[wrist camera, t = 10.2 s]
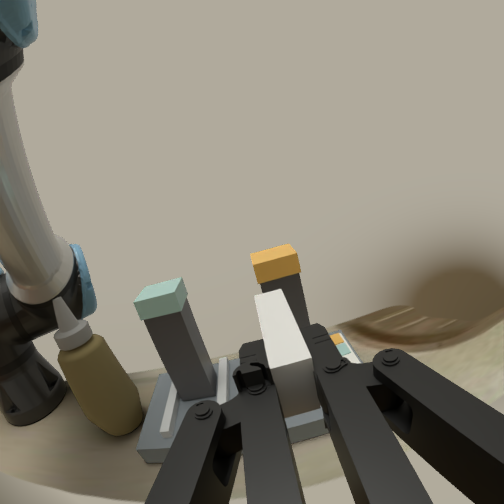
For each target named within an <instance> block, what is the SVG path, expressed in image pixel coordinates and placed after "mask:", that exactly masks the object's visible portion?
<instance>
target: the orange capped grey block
mask: <svg viewBox="0 0 504 504" xmlns="http://www.w3.org/2000/svg"><path fill="white" fill-rule="evenodd" d="M250 255H251V259H252V263H253V267H254V271H255V275H256V278H257V282H258V284H260V285H261V289H262V292H263V293H267V292H270V291H274V290H278V289H282V292H283V294H284V296H285V298H286V301H287V303H288V305H289V307H290V310H291V312H292V314H293V316H294V318H295V321H296V323H297V325H298V327H299V328H302V327H306V326H309V325H310V322H309V317H308V312H307V307H306V303H305V298H304V293H303V289H302V284H301V279H300V275H299V272H301V269H300V264H299V260H298V255H297V253H296V251H295V250H294V249H293V248H292V247H291V246H290V244H285V245H281V246H278V247H274V248H270V249H267V250H263V251H259V252H256V253H252V254H250Z"/></svg>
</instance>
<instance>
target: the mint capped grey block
mask: <svg viewBox="0 0 504 504" xmlns="http://www.w3.org/2000/svg"><path fill="white" fill-rule="evenodd" d="M187 294H188V293H187V291H186V288H185V285H184V282H183V279H182V277H181V278H176V279H173V280H169V281H165V282H162V283H158V284H154V285H150V286H147V287H145V288H144V289H143V291H142V292H141V293H140V294H139V296H138V297H137V298H136V300H135V301H134V305H135V307H136V310H137V312H138V315H139V317H140V319H141V320H144V322H145V325H146V327H147V329H148V332H149V334H150V336H151V338H152V340H153V343H154V345H155V347H156V349H157V351H158V354H159V356H160V358H161V360H162V362H163V364H164V366H165V368H166V370H167V372H168V374H169V376H170V378H171V380H172V382H173V384H174V386H175V388H176V390H177V392H178V394H179V396H180V397H181V399H182V401H185V400H191V399H197V398H203V397H208V396H214V395H215V393H216V376H217V374H216V372H215V370H214V367H213V365H212V362H211V360H210V357H209V355H208V352H207V350H206V348H205V345H204V342H203V340H202V337H201V335H200V332H199V329H198V327H197V325H196V322H195V319H194V317H193V314H192V311H191V308H190V305H189V303H188V300H187Z"/></svg>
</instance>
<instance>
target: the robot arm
mask: <svg viewBox="0 0 504 504" xmlns="http://www.w3.org/2000/svg"><path fill="white" fill-rule="evenodd" d="M37 36H38V21H37V13H36V0H0V262H1V264H2V265H3V266H4V268H5V269H6V273H5V274H4V271H3V270H2V269H1V268H0V410H1V412H2V414H3V415H4V417H5V418H6V419H7V421H8V422H9V423H11V424H13V425H19V426H20V425H27V424H30V423H33V422H35V421H37V420H39V419H41V418H43V417H44V416H46V415H47V414H49V413H50V412H51V411H52V410H53V409H54V408H55V407H56V406H57V405H58V404H59V403H60V401H61V400H62V398H63V397H64V395H65V392H66V383H65V382H64V380H63V379H62V377H61V375H60V374H59V372H58V371H57V370H56V369H55V368H54V367H53V366H52V365H51V364H50V363H49V362H47V360H46V359H45V358H43V356H42V355H41V354H40V353H39V352H38V351H37V349H36V348H35V346H34V344H33V342H32V340H34V339H36V338H38V337H40V336H43V335H45V334H48V333H50V332H52V331H55V330H57V329H59V327H58V323H57V319H56V315H55V310H54V306H53V300H54V299H55V298H58V297H62V299H63V300H64V302H65V303H66V305H67V306H68V308H69V309H70V311H71V312H72V313H73V315H74V316H75V318H76V319H77V320H83V318H85V317H87V316H89V315H91V314H93V313H94V312H95V310H96V308H97V301H96V296H95V293H94V289H93V286H92V283H91V279H90V274H89V271H88V268H87V265H86V261H85V258H84V255H83V252H82V250H81V247H80V246H79V245H77V244H74V245H72V244H70V245H68V243H67V241H65V240H64V239H63V238H62V237H60V236H58V235H55V234H54V233H53V231H52V229H51V226H50V224H49V221H48V219H47V216H46V214H45V211H44V208H43V206H42V203H41V200H40V197H39V194H38V191H37V189H36V186H35V183H34V180H33V176H32V173H31V170H30V167H29V163H28V160H27V157H26V153H25V149H24V146H23V142H22V138H21V134H20V130H19V126H18V121H17V116H16V111H15V106H14V101H13V95H12V89H11V85H12V82H13V81H14V79H15V78H16V76H17V75H18V72H19V71H20V70H21V68H22V67H23V65H24V59H23V58H24V57H23V48H25V47H28V46H29V45H30V44H31V43H33V42H34V41H35V40H36V39H37ZM254 297H255V302H256V307H257V312H258V316H259V321H260V326H261V330H262V335H263V339H261V340H257V341H253V342H249V343H245V344H243V345H242V347H241V348H240V350H239V358H240V366H238V367H237V368H236V369H235V370H234V371H233V375H232V377H233V379H234V382H235V384H236V387H237V390H238V392H239V393H238V394H237V396H235V397H234V398H233V399H231V400H229V401H227V402H225V403H223V404H221V405H219V403H217V402H215V401H212V400H204V401H200V402H198V403H195V404H194V405H192V406H191V407H190V408H189V409H188V411H187V412H186V414H185V417H184V419H183V421H182V423H181V425H180V427H179V430H178V432H177V434H176V436H175V438H174V441H173V443H172V445H171V447H170V449H169V452H168V454H167V456H166V458H165V460H164V462H163V465H162V467H161V469H160V471H159V473H158V476H157V478H156V480H155V482H154V484H153V486H152V489H151V491H150V493H149V495H148V497H147V499H146V502H145V504H229V501H230V497H231V493H232V489H233V485H234V481H235V477H236V473H237V469H238V465H239V461H240V457H241V450H243V459H244V471H245V483H246V495H247V504H306V503H305V499H304V495H303V490H302V486H301V482H300V478H299V474H298V470H297V466H296V462H295V458H294V453H293V449H292V445H291V441H290V437H289V433H288V429H287V425H286V422H285V418H288V417H291V416H295V415H299V414H303V413H306V412H310V411H313V410H316V409H320V408H321V407H322V411H323V417H324V424H325V429H326V428H328V431H329V433H330V436H331V439H332V441H333V444H334V447H335V450H336V452H337V455H338V458H339V460H340V463H341V466H342V468H343V471H344V474H345V477H346V479H347V482H348V484H349V487H350V490H351V493H352V495H353V498H354V501H355V504H433V502H432V501H431V499H430V497H429V495H428V493H427V492H426V490H425V488H424V486H423V485H422V483H421V481H420V479H419V477H418V475H417V474H416V472H415V470H414V468H413V467H412V465H411V463H410V461H409V459H408V458H407V456H406V454H405V452H404V451H403V449H402V447H401V446H400V444H399V442H398V440H397V439H396V437H395V435H394V433H393V432H395V433H396V434H397V435H398V436H399V437H400V438H401V439H402V440H403V441H404V442H405V443H406V444H408V445H409V446H410V447H411V448H412V449H413V450H414V451H415V452H416V453H417V454H419V455H420V456H421V457H422V458H423V459H424V460H425V461H426V462H427V463H429V464H430V465H431V466H432V467H433V468H434V469H435V470H436V471H438V472H439V473H440V474H441V475H442V476H444V478H446V479H447V480H448V481H449V482H450V483H451V484H452V485H454V486H455V487H456V488H457V489H458V490H459V491H461V492H462V493H463V494H464V495H465V496H466V497H468V498H469V499H470V500H471V501H472V502H473V503H475V504H504V415H503V414H502V413H500V412H498V411H497V410H495V409H494V408H492V407H491V406H489V405H487V404H486V403H484V402H483V401H481V400H480V399H478V398H476V397H475V396H473V395H472V394H470V393H468V392H467V391H465V390H464V389H462V388H461V387H459V386H457V385H456V384H454V383H453V382H451V381H450V380H448V379H446V378H445V377H443V376H442V375H440V374H439V373H437V372H435V371H434V370H432V369H431V368H429V367H428V366H426V365H424V364H423V363H421V362H420V361H418V360H417V359H415V358H413V357H412V356H410V355H409V354H407V353H406V352H404V351H402V350H399V349H393V348H391V349H385V350H383V351H380V352H379V353H377V354H376V355H375V356H374V358H373V362H369V363H358V364H357V363H351V362H350V361H349V360H348V359H347V358H345V357H342V355H341V354H340V352H339V350H338V349H337V347H336V345H335V344H334V342H333V340H332V339H331V337H330V335H329V334H328V332H327V330H326V329H325V327H323V326H321V325H320V324H318V323H316V324H313V325H309V326H306V327H302V328H299V327H298V325H297V323H296V321H295V318H294V316H293V314H292V312H291V310H290V307H289V305H288V303H287V301H286V298H285V296H284V294H283V292H282V289H278V290H274V291H270V292H267V293H263V294H259V295H255V296H254ZM320 405H321V407H320ZM392 431H393V432H392Z"/></svg>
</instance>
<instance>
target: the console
mask: <svg viewBox="0 0 504 504" xmlns="http://www.w3.org/2000/svg"><path fill="white" fill-rule="evenodd" d="M329 335H330V337H331V339H332V340H333V342H334V344H335V345H336V347H337V349H338V350H339V352H340V354H341V355H342V357H345V358H347V359H348V360H349V361H350V362H351V363H357V364H358V363H363V362H362V361H361V359H360V358H359V356H358V355H357V353H356V352H355V350H354V349H353V347H352V346H351V344H350V343H349V341H348V340H347V339H346V337H345V336H344V334H343V333H342V331H341V330H338V331H335V332H332V333H329ZM212 365H213V367H214V370H215V372H216V374H217V376H216V393H215V395H214V396H208V397H203V398H197V399H191V400H185V401H182V399H181V397H180V396H179V394H178V392H177V390H176V388H175V386H174V384H173V382H172V380H171V378H170V376H169V374H168V373H164V374H159V377H158V380H157V383H156V386H155V389H154V392H153V395H152V399H151V402H150V405H149V408H148V411H147V414H146V418H145V421H144V424H143V427H142V431H141V434H140V437H139V441H138V444H137V448H136V450H137V452H138V453H139V454H140V455H141V456H142V458H143V459H144V460H145V461H146V462H147V463H163V462H164V460H165V458H166V456H167V454H168V452H169V449H170V447H171V445H172V443H173V441H174V438H175V436H176V434H177V432H178V430H179V427H180V425H181V423H182V421H183V419H184V417H185V414H186V412H187V411H188V409H189V408H190V407H191V406H192V405H194V404H195V403H198V402H200V401H204V400H212V401H215V402H217V403H219V405H221V404H223V403H225V402H227V401H229V400H231V399H233V398H234V397H235V396H237V394H238V393H239V392H238V390H237V387H236V384H235V382H234V379H233V377H232V375H233V371H234V370H235V369H236V368H237V367H238V366H240V358H238V359H234V360H229V361H228V359H227V357H223V358H219V363H216V364H212ZM320 407H321V405H320ZM285 422H286V425H287V429H288V433H289V437H290V441H291V443H295V442H299V441H303V440H306V439H310V438H313V437H317V436H320V435H323V434H327V433H329V431H328V428H326V429H325V424H324V417H323V411H322V407H321V408H320V409H316V410H313V411H310V412H306V413H303V414H299V415H295V416H291V417H288V418H285ZM241 454H243V450H241Z"/></svg>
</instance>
